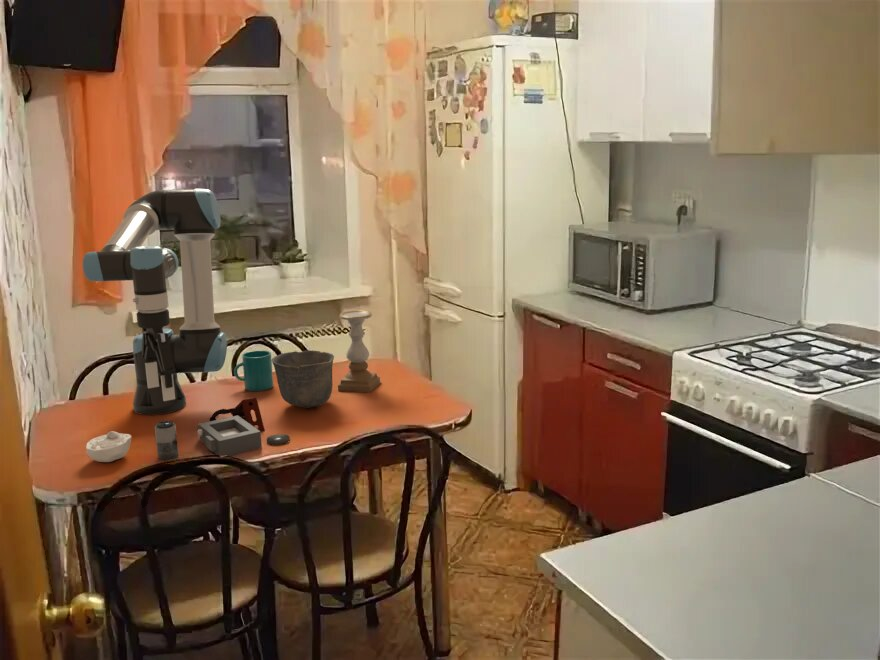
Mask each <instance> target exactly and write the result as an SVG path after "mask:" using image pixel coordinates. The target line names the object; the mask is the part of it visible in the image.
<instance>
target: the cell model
mask: <svg viewBox="0 0 880 660" xmlns="http://www.w3.org/2000/svg"><path fill="white" fill-rule="evenodd" d="M131 441H132V434H129V433H122V432H121V433H119V432H117V431H113V430H112V431H109V432H107V434H102V435H99V436H97V437H94V438H92V439H90V440H89V441H87V443H86V444H85V445H86V446H85V450H86V455H87V456H88V458H90V459H92V460H94V461H96V462H100V463H111V462H114V461H116V460H119V459H121V458H124V456H126V455H127V453H128V452H129V449H130V447H131Z"/></svg>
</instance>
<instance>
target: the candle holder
mask: <svg viewBox="0 0 880 660" xmlns="http://www.w3.org/2000/svg"><path fill="white" fill-rule="evenodd" d="M372 316H373V313H372V312H371V311H368V310H348V311H343V312H341V313H339V318H340V319H341V320H343V321H344V320H345V321H347V323H348V324H349V325H350V330H349V332H348V336H349V337H350V338H351V342H350V345H349V347H348V349H347V351H346V354H345V355H346V359H347V360H348V361H349V362H350V363H349V364H348V369H349V370H350V371H348V372H347V373H346V375H344V376H343V377H342V378H341V379H340V382H339V383H338V385H337V391H339V392H351V393H352V392H354V393H372V391H374V390H375V389H376V388H377V387H378V386H379V385H380V383H381V377H380V376H378V374H377V373H376V372H370V371H369V370H367V369H368V367H369V364H368V363H367V362H366V361H367V360H368V359H369V358H370V351H369V349H368V348H367V346H366V345H365V344H364V341H363V338H364V335H366V332H365V331H364V329H363V324H364V322H365V320H367V319H370V318H372Z"/></svg>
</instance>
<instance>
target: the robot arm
mask: <svg viewBox="0 0 880 660" xmlns="http://www.w3.org/2000/svg"><path fill="white" fill-rule="evenodd" d="M220 227H221V211H220V207H219V203H218V201H217V198H216V196H215V194H214V192H213V191H212V190H210V189H209V188H207V189H206V188H182V189H180V188H179V189H158V190H154V191H150V192H148V193H146V194H144V195H142V196H141V197H139V198H138V199H136V200H135V201H133V202H132V203H131V204H130V205H129V206H128V207H127V209H126V210H125V212H124V215H123V220H122V222H121V223H120V224H119V226H118V227H117V228H116V230H115V232H113V234H112V235H111V237H110V238H109V239H108V241H107V242H106V244H104V246H103V248H101V250H100V251H98V250H97V251H96V250H94V251H88V252H86V253H85V254H84V256H83V259H82V271H83V276H84V277H85V278H86V280H87V281H89V282H101V283H104V282H118V281H120V282H121V281H132V283H133V293H134V298H133V299H132V302H133V303H135V308H136V310H137V313H136V322H137V326H138V328H140V329H141V330H142V331H141V332H142V333H140V334H138V335H137V336H135V337H134V339H132V355H133V361H134V369H135V370H134V371H135V377H136V378H135V379H136V387H135V393H134V397H133V402H132V407H133V409H132V410H133V411H134V412H135V413H136V414H139V415H149V416H152V415H154V416H155V415H165V414H170V413H173V412H176V411H180V410H181V409H183V408H184V407H186V406H187V400H186V395H185V392H184V391H183V388H182V386H181V384H180V382H179V380H178V379H179V378H178V374H189V373H190V374H192V373H193V374H195V373H205V374H207V373H213V372H218V371H220V370H222V368H223V367H224V365H225V362H226V359H227V358H226V357H227V351H228V350H227V349H228V340H227V334H226V333H225V332H224V331H221V326H220V325H219V324H218V323H217V322H216V320H215V308H214V304H215V303H214V288H213V287H214V286H213V270H212V268H213V267H212V252H211V251H212V249H211V240H212V239H213V238H214V236H216V229H219V228H220ZM165 230H169V231H170V230H173V235H174V237H175V238H176V239H177V240H178V241H179V247H180V263H181V265H180V266H181V279H182V280H181V282H182V283H181V284H182V297H183V298H182V299H183V300H182V301H183V317H184V322H183V324H182V325H181V326H180V327H179V333H178V334H176V333H175V334H174V331H173V329H171V328H164V327H167V326H169V325H170V322H171V320H170V319H171V317H170V311H169V309H167V308H169V299H168V297H169V296H168V291H167V282H166V280H167V279H168V278H170V277H172V276H173V275H174V274H175V273H176V271H177V270H178V268H179V259H178V256H177V254H176V253H175V252H174V251H173V250H172V249H170V248H166V247H161V246H159V245H143V244H144V242H145V241H146V239H147V238H148V236H151V235H153V234H154V233H155V232H156V231H165Z"/></svg>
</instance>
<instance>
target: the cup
mask: <svg viewBox="0 0 880 660" xmlns="http://www.w3.org/2000/svg"><path fill="white" fill-rule="evenodd" d="M241 358H242V362H240V363H238V364H237V365H236V366H235V367H234V369H233V374H234V376H235V378H236V379H237V380H238V381H243V382H244V388H245V390H247V391H250V392H262V391H264V392H265V391H267V390H271V389H272V388H273V386H274V375H273V363H272V352H270V351H268V350H251V351H247V352H244V353H242V356H241ZM241 367H242V368H243V369H242V370H243V371H242V373H243V377H241V376H239V374H238V369H239V368H241Z"/></svg>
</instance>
